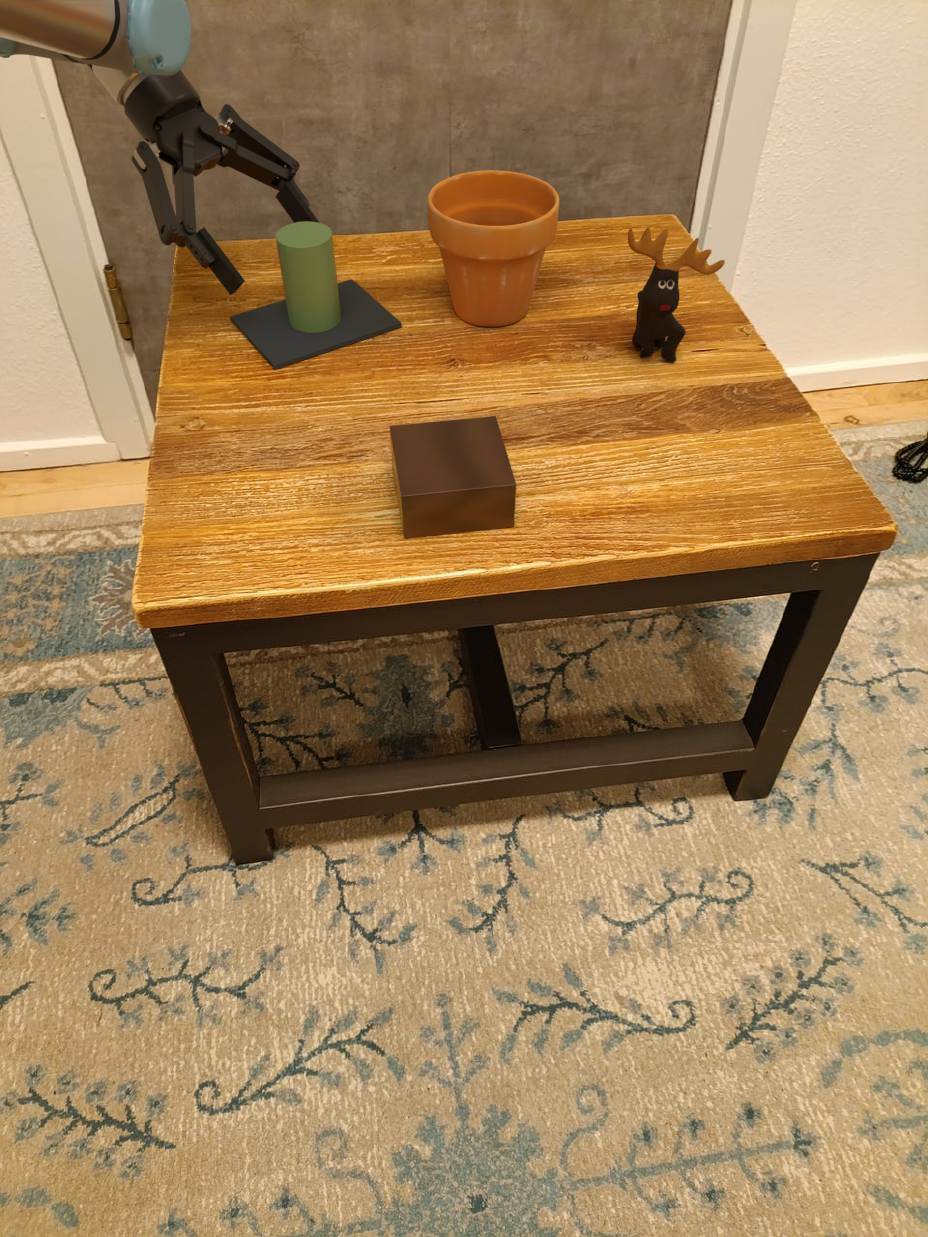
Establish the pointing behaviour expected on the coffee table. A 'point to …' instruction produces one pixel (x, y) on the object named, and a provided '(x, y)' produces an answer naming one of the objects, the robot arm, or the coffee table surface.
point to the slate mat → (291, 346)
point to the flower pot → (492, 241)
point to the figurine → (663, 295)
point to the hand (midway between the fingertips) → (279, 262)
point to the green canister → (309, 276)
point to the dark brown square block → (452, 477)
